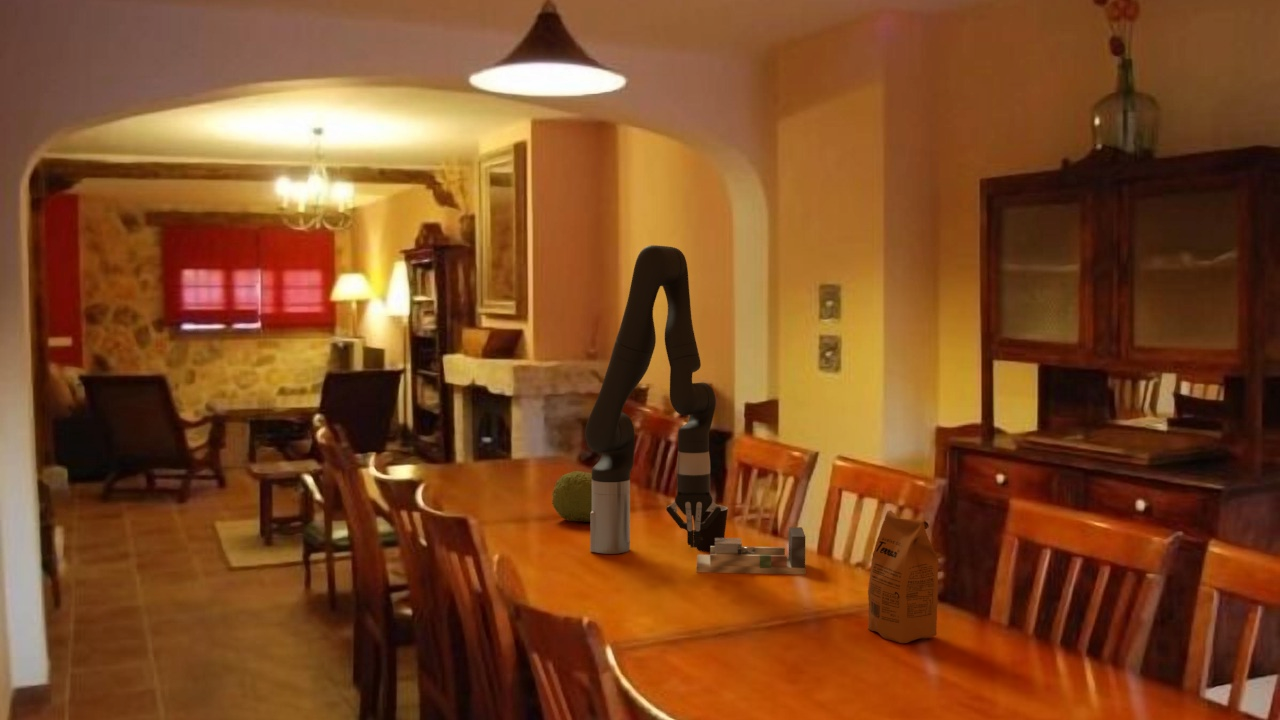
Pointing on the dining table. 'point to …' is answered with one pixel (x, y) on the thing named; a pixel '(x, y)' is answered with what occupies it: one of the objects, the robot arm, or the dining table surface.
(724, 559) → the gauge bed
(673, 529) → the dining table surface
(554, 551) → the dining table surface
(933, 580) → the coffee package
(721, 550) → the plunger
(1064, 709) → the dining table surface
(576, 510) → the fruit
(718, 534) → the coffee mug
